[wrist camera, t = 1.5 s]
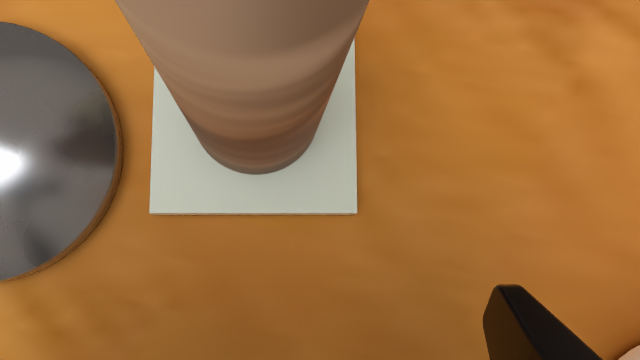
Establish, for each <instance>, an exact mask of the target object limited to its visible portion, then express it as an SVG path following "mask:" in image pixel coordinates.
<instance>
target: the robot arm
mask: <svg viewBox="0 0 640 360" xmlns="http://www.w3.org/2000/svg"><path fill="white" fill-rule="evenodd" d="M483 329H484V334H485V338H486V343H487V348H488V352H489V357H490V360H603V359H602V358H601V357H599V356H598V355H597V354H596V353H595V352H594V351H593V350H592V349H591V348H590V347H588V346H587V345H586V344H585V343H584V342H583V341H582V340H581V339H580V338H578V337H577V336H576V335H575V334H574V333H573V332H572V331H571V330H570V329H569V328H567V327H566V326H565V325H564V324H563V323H562V322H561V321H560V320H559V319H557V318H556V317H555V316H554V315H553V314H552V313H551V312H550V311H549V310H547V309H546V308H545V307H544V306H543V305H542V304H541V303H540V302H539V301H538V300H536V299H535V298H534V297H533V296H532V295H531V294H530V293H529V292H528V291H526V290H525V289H524V288H523V287H521V286H520V285H515V284H510V285H497V286H496V287H494V289H493V291H492V294H491V296H490V299H489V301H488V304H487V307H486V309H485V312H484V315H483Z"/></svg>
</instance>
